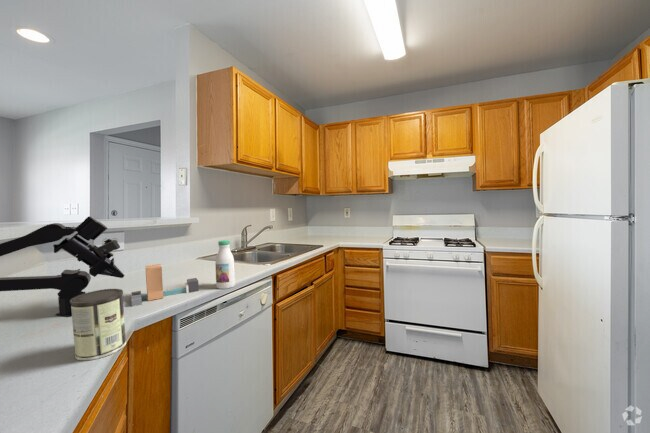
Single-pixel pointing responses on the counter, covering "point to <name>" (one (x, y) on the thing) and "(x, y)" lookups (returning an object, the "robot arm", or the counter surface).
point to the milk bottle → (225, 266)
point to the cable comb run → (189, 287)
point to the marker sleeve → (154, 281)
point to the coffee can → (98, 323)
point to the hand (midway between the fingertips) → (123, 276)
